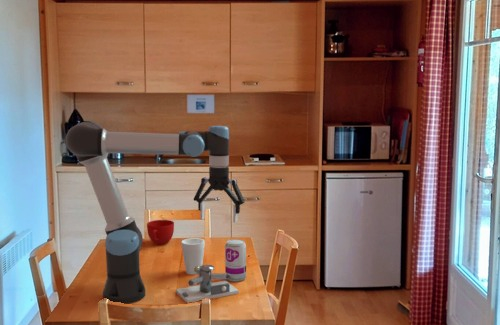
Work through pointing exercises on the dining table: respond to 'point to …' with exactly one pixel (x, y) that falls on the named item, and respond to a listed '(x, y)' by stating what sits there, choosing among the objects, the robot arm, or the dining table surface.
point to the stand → (216, 291)
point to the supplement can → (235, 259)
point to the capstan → (206, 277)
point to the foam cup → (193, 253)
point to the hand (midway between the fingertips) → (218, 220)
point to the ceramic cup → (160, 231)
